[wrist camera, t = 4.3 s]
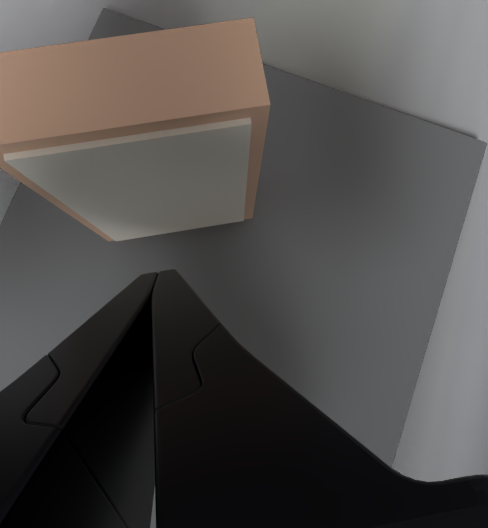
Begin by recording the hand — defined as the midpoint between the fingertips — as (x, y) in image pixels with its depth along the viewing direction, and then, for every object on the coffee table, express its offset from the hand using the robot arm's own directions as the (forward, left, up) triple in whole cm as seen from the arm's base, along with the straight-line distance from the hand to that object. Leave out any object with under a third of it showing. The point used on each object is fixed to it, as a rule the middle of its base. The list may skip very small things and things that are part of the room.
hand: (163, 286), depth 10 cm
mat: (0, -1, -8) cm, 8 cm away
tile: (+2, -4, -7) cm, 8 cm away
